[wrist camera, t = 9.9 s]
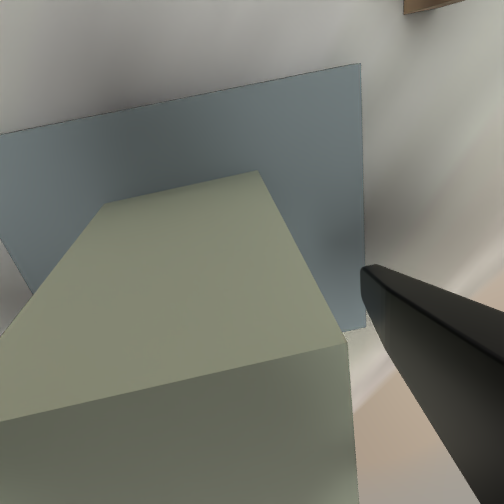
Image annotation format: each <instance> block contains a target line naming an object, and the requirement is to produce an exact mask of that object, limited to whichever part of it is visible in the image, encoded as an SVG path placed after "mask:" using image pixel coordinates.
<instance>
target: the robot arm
mask: <svg viewBox="0 0 504 504" xmlns="http://www.w3.org/2000/svg"><path fill="white" fill-rule="evenodd" d="M360 291H361V298H362V301H363V303H364V305H365V307H366V310H367V312H368V314H369V316H370V318H371V320H372V322H373V325H374V327H375V329H376V331H377V333H378V335H379V338H380V340H381V342H382V344H383V346H384V348H385V350H386V351H387V353H388V355H389V356H390V358H391V360H392V361H393V363H394V365H395V366H396V368H397V369H398V371H399V373H400V374H401V376H402V378H403V379H404V381H405V382H406V384H407V386H408V387H409V389H410V390H411V392H412V394H413V395H414V397H415V399H416V400H417V402H418V403H419V405H420V406H421V408H422V410H423V411H424V413H425V415H426V416H427V418H428V420H429V421H430V423H431V424H432V426H433V428H434V429H435V431H436V432H437V434H438V436H439V437H440V439H441V440H442V442H443V444H444V445H445V447H446V449H447V450H448V452H449V454H450V455H451V457H452V458H453V460H454V462H455V463H456V465H457V466H458V468H459V470H460V471H461V473H462V474H463V476H464V478H465V479H466V481H467V483H468V484H469V486H470V488H471V489H472V491H473V492H474V494H475V496H476V497H477V499H478V500H479V502H480V504H504V312H502V311H499V310H497V309H494V308H491V307H489V306H486V305H483V304H481V303H478V302H476V301H473V300H470V299H468V298H465V297H462V296H460V295H457V294H454V293H452V292H449V291H446V290H444V289H441V288H439V287H436V286H433V285H431V284H428V283H425V282H423V281H420V280H417V279H415V278H412V277H409V276H407V275H404V274H401V273H399V272H396V271H394V270H391V269H388V268H386V267H383V266H380V265H377V264H373V265H368V266H364V267H362V268H361V270H360Z"/></svg>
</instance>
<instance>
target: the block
mask: <svg viewBox="0 0 504 504" xmlns="http://www.w3.org/2000/svg"><path fill="white" fill-rule="evenodd" d="M0 504H359V495H358V481H357V468H356V454H355V440H354V427H353V413H352V399H351V386H350V372H349V359H348V345H347V341H346V339H345V337H344V335H343V333H342V331H341V329H340V327H339V326H338V324H337V322H336V320H335V318H334V316H333V314H332V312H331V310H330V308H329V306H328V304H327V302H326V301H325V299H324V297H323V295H322V293H321V291H320V289H319V287H318V285H317V283H316V281H315V279H314V278H313V276H312V274H311V272H310V270H309V268H308V266H307V264H306V262H305V260H304V258H303V256H302V254H301V253H300V251H299V249H298V247H297V245H296V243H295V241H294V239H293V237H292V235H291V233H290V231H289V229H288V228H287V226H286V224H285V222H284V220H283V218H282V216H281V214H280V212H279V210H278V208H277V206H276V204H275V203H274V201H273V199H272V197H271V195H270V193H269V191H268V189H267V187H266V185H265V183H264V181H263V180H262V178H261V176H260V174H259V172H258V170H256V171H251V172H247V173H242V174H238V175H233V176H228V177H224V178H219V179H215V180H210V181H206V182H201V183H197V184H192V185H187V186H183V187H178V188H174V189H169V190H165V191H160V192H156V193H151V194H146V195H142V196H137V197H133V198H128V199H124V200H119V201H115V202H110V203H105V204H104V205H103V206H102V207H101V208H100V210H99V211H98V212H97V214H96V215H95V216H94V217H93V219H92V220H91V221H90V223H89V224H88V225H87V226H86V228H85V229H84V230H83V232H82V233H81V234H80V235H79V237H78V238H77V239H76V241H75V242H74V243H73V244H72V246H71V247H70V248H69V250H68V251H67V252H66V253H65V255H64V256H63V257H62V259H61V260H60V261H59V262H58V264H57V265H56V266H55V268H54V269H53V270H52V271H51V273H50V274H49V275H48V277H47V278H46V279H45V280H44V282H43V283H42V284H41V286H40V287H39V288H38V289H37V291H36V292H35V293H34V295H33V296H32V297H31V298H30V300H29V301H28V302H27V304H26V305H25V306H24V307H23V309H22V310H21V311H20V313H19V314H18V315H17V316H16V318H15V319H14V320H13V322H12V323H11V324H10V325H9V327H8V328H7V329H6V331H5V332H4V333H3V334H2V336H1V337H0Z"/></svg>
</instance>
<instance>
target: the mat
mask: <svg viewBox="0 0 504 504" xmlns="http://www.w3.org/2000/svg"><path fill="white" fill-rule="evenodd" d="M256 170H258V172H259V174H260V176H261V178H262V180H263V181H264V183H265V185H266V187H267V189H268V191H269V193H270V195H271V197H272V199H273V201H274V203H275V204H276V206H277V208H278V210H279V212H280V214H281V216H282V218H283V220H284V222H285V224H286V226H287V228H288V229H289V231H290V233H291V235H292V237H293V239H294V241H295V243H296V245H297V247H298V249H299V251H300V253H301V254H302V256H303V258H304V260H305V262H306V264H307V266H308V268H309V270H310V272H311V274H312V276H313V278H314V279H315V281H316V283H317V285H318V287H319V289H320V291H321V293H322V295H323V297H324V299H325V301H326V302H327V304H328V306H329V308H330V310H331V312H332V314H333V316H334V318H335V320H336V322H337V324H338V326H339V327H340V329H341V331H342V332H346V331H350V330H355V329H359V328H364V327H366V307H365V305H364V303H363V301H362V298H361V291H360V270H361V268H362V267H364V266H365V244H364V195H363V146H362V98H361V63H357V64H350V65H345V66H340V67H335V68H330V69H325V70H320V71H315V72H310V73H305V74H300V75H295V76H290V77H285V78H280V79H275V80H270V81H265V82H260V83H255V84H250V85H245V86H240V87H235V88H230V89H225V90H220V91H215V92H210V93H205V94H200V95H195V96H190V97H185V98H180V99H175V100H170V101H165V102H160V103H155V104H150V105H145V106H140V107H135V108H130V109H125V110H120V111H115V112H110V113H105V114H100V115H95V116H90V117H85V118H80V119H75V120H70V121H65V122H60V123H55V124H50V125H45V126H40V127H35V128H30V129H25V130H20V131H16V132H11V133H6V134H1V135H0V239H1V240H2V242H3V244H4V246H5V247H6V249H7V251H8V252H9V254H10V256H11V258H12V259H13V261H14V263H15V264H16V266H17V268H18V270H19V271H20V273H21V275H22V276H23V278H24V280H25V281H26V283H27V285H28V287H29V288H30V290H31V292H32V293H33V295H34V293H35V292H36V291H37V289H38V288H39V287H40V286H41V284H42V283H43V282H44V280H45V279H46V278H47V277H48V275H49V274H50V273H51V271H52V270H53V269H54V268H55V266H56V265H57V264H58V262H59V261H60V260H61V259H62V257H63V256H64V255H65V253H66V252H67V251H68V250H69V248H70V247H71V246H72V244H73V243H74V242H75V241H76V239H77V238H78V237H79V235H80V234H81V233H82V232H83V230H84V229H85V228H86V226H87V225H88V224H89V223H90V221H91V220H92V219H93V217H94V216H95V215H96V214H97V212H98V211H99V210H100V208H101V207H102V206H103V205H104V204H105V203H110V202H115V201H119V200H124V199H128V198H133V197H137V196H142V195H146V194H151V193H156V192H160V191H165V190H169V189H174V188H178V187H183V186H187V185H192V184H197V183H201V182H206V181H210V180H215V179H219V178H224V177H228V176H233V175H238V174H242V173H247V172H251V171H256Z"/></svg>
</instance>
